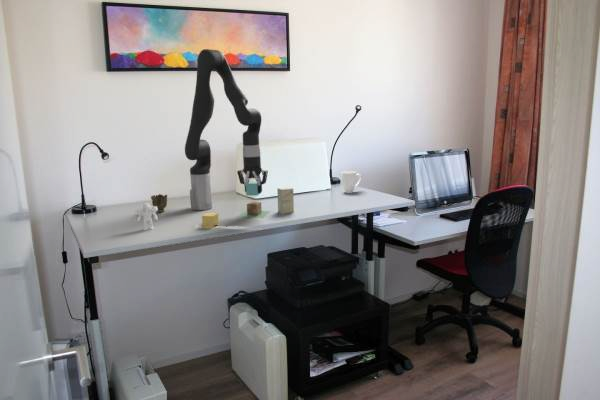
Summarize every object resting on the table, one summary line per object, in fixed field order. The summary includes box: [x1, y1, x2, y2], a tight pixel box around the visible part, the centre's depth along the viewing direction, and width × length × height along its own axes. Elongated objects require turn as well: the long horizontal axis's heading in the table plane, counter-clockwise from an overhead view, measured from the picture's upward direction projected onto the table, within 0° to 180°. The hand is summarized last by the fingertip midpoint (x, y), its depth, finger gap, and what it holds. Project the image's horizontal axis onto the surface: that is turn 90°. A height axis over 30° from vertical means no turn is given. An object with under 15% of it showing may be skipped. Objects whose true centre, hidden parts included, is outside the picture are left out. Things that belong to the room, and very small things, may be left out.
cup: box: [150, 193, 168, 213], centre depth 225 cm, size 8×7×8 cm
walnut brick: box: [246, 201, 263, 215], centre depth 212 cm, size 5×5×5 cm
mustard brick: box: [201, 212, 219, 229], centre depth 198 cm, size 5×5×5 cm
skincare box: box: [277, 186, 295, 215], centre depth 214 cm, size 6×4×12 cm
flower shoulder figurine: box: [134, 199, 159, 231], centre depth 195 cm, size 9×4×12 cm, turn 112°
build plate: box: [237, 209, 272, 219], centre depth 212 cm, size 12×12×1 cm
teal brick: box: [245, 181, 260, 196], centre depth 210 cm, size 5×5×5 cm
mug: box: [340, 170, 362, 194], centre depth 259 cm, size 12×8×11 cm
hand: (253, 193), depth 210 cm, fingers closed on teal brick, 5 cm apart
